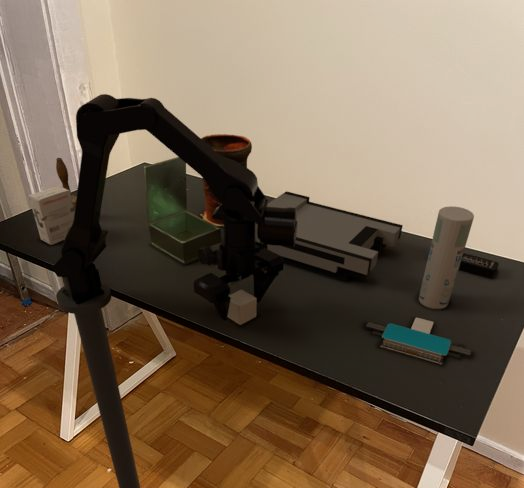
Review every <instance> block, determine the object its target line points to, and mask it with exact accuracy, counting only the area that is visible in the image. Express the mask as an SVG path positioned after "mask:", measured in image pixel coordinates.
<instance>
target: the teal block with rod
mask: <svg viewBox="0 0 524 488" xmlns="http://www.w3.org/2000/svg"><path fill="white" fill-rule="evenodd" d="M434 323H435V321H432V320H427V319H424V318H420V317H415V318H414V321H413V323H412V326H411V328H409V327H405V326H402V325H398V324H395V323H390V322H389V323H387V326H385V325H381V324H377V323H374V322H370V321H368V322H367V324H366V325H365V326H366V327H365V329H366V330H371V331H372V333H371V334H372V335H375V336H379V337H381V338H382V339H383V340H382V342H381V344H380V348H382V349H385V350H388V351H391V352H394V353H398V354H401V355H406V356H409V357H411V358H415V359H418V360H423V361H426V362H430V363H432V364H436V365H438V366H439V365H440V366H442V365H443V363H444V359H445V356H449V357H452V358H456V359H460V358H461V356H462V357H466V358H470V357H471V354H472V350H471V349H467V348H465V347H461V346H457V345H453V344H452V340H451V339H449V338H445V337H442V336H438V335H435V334H431V331H432V330H433V329H432V328H433V327H434Z"/></svg>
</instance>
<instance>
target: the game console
mask: <svg viewBox="0 0 524 488" xmlns="http://www.w3.org/2000/svg"><path fill="white" fill-rule="evenodd" d="M267 207H277V208H288V207H290V208H296V221H298V222H297V234H296V242H295V246H294V247H288V246H277V245H265V244H263V243H260V238H258V236H257V229H258V222H255V245H257V246H259V247H260V250H262V249H264V248H266V249H268V250H270V251H272V252H274V253H276V254H278V255H280V256H281V257H282V259H283V261H284V263H285V264H289V265H292V266H295V267H298V268H301V269H304V270H307V271H310V272H314V273H316V274H320V275H324V276H326V277H329V278H332V279H336V280H340V281H343V282H347V281H348V280H349V279H350V277H353V278H358V277H359V276H361V274H362V275H365V276H368V275H369V274H370V273H371V272H372V270H373V269H374V268H375V267H376V266H377V261H378V255H379V254H380V253H381V252H382V251H383V250H384V249H385V247H386V246H390V247H394V246H395V245H396V243H397V242H398V241H399V240H400V239H401V236H402V231H403V224H400V223H396V222H392V221H388V220H383V219H379V218H376V217H372V216H368V215H364V214H359V213H356V212H352V211H347V210H344V209H340V208H336V207H332V206H328V205H325V204H320V203H317V202H312V201H310V196H307V195H303V194H299V193H295V192H290V191H287V190H286V191H285V192H283V193H282V194H280V195H278V196H277V197H275V198H274V199H272V200H271V201H270V202H269V203H268V205H267Z"/></svg>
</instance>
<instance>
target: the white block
mask: <svg viewBox="0 0 524 488" xmlns="http://www.w3.org/2000/svg"><path fill="white" fill-rule="evenodd" d="M228 296H229V297H231V299H230V305H229V310H228V316H227V318H228V319H229V320H231V321H233V323H236V324H238V325H239V326H242V325H244V324H245V323H248V322H250V321H251V320H253V319H254V318H256V317H257V306H258V305H257V304H258V303H257V298H255V297H254V295H252V294H251V293H248V292H247V291H245V290H243V289H239V290H237V291H235V292H234V293H230V294H229V295H228Z"/></svg>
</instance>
